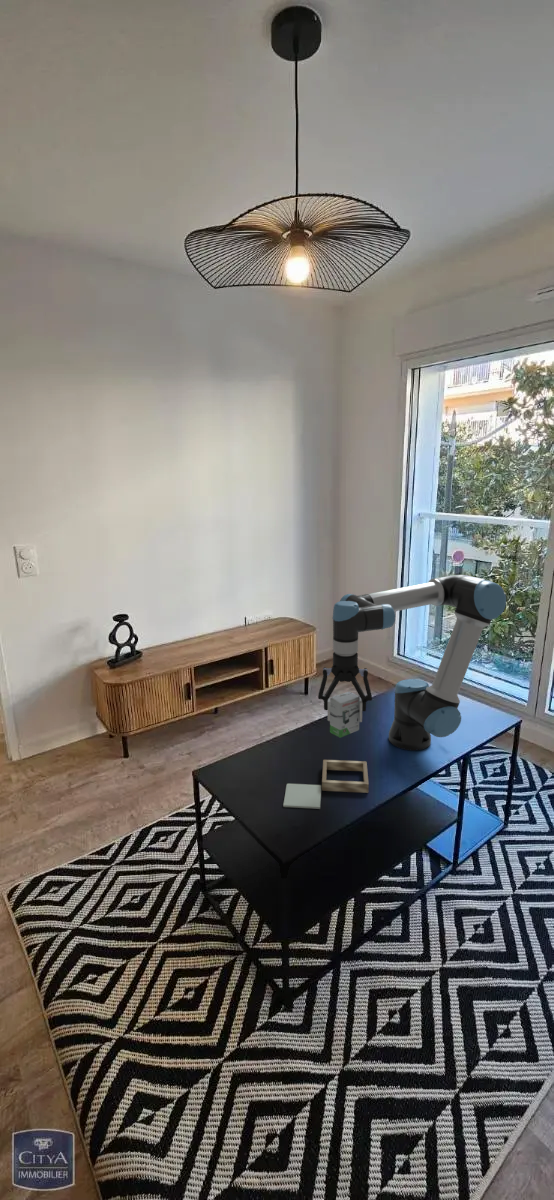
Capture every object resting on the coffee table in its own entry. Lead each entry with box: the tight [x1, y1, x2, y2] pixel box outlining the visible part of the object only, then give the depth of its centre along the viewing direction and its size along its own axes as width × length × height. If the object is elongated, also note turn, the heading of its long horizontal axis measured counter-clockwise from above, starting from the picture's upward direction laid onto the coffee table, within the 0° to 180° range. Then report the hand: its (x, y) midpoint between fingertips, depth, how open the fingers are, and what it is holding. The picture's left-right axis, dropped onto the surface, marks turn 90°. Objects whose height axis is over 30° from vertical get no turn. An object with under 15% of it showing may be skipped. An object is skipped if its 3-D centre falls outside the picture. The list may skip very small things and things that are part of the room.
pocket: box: [321, 759, 370, 794], centre depth 166 cm, size 14×13×3 cm
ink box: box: [329, 691, 361, 738], centre depth 161 cm, size 9×5×12 cm, turn 126°
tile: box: [282, 783, 322, 810], centre depth 159 cm, size 11×11×1 cm
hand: (344, 719), depth 161 cm, fingers closed on ink box, 9 cm apart
